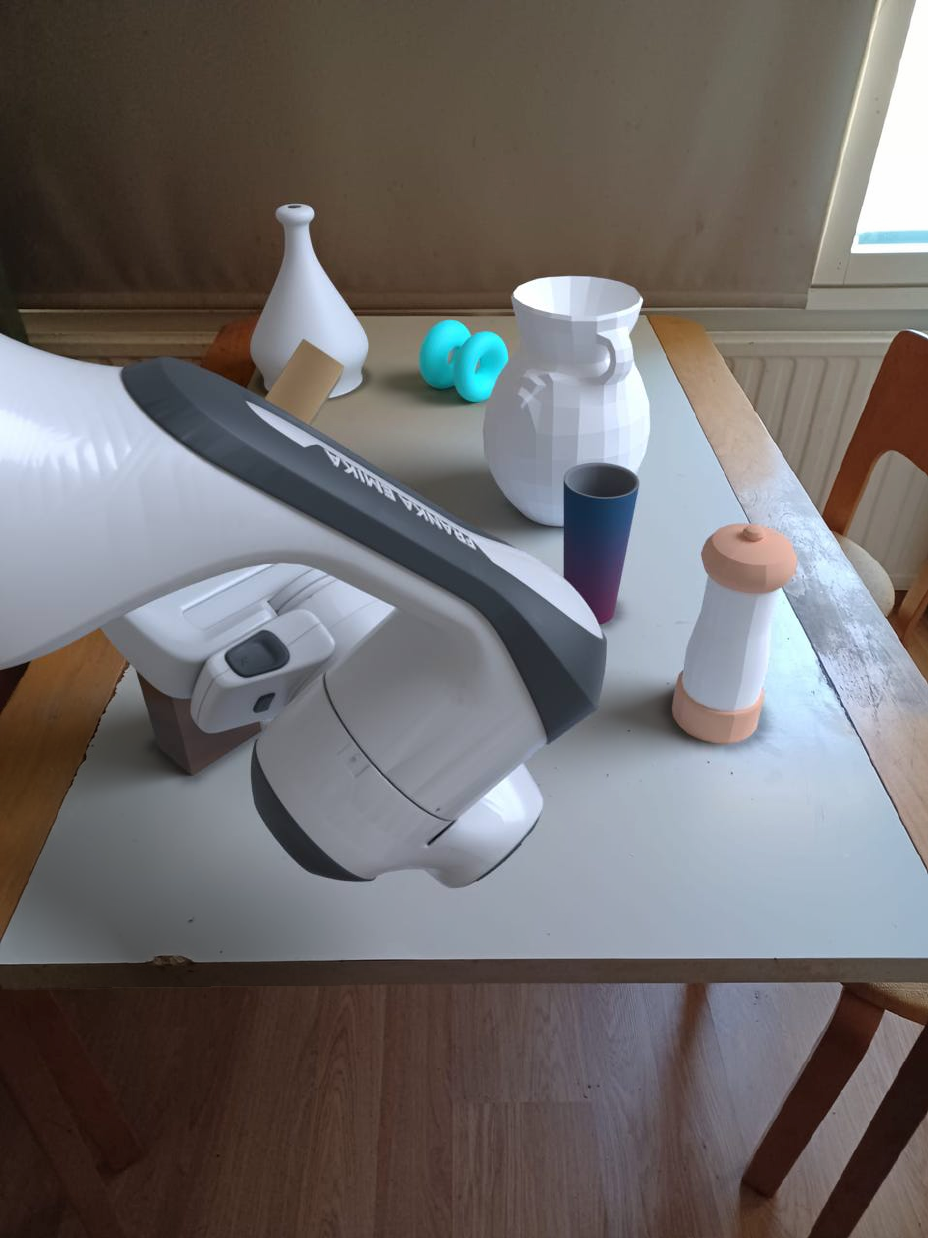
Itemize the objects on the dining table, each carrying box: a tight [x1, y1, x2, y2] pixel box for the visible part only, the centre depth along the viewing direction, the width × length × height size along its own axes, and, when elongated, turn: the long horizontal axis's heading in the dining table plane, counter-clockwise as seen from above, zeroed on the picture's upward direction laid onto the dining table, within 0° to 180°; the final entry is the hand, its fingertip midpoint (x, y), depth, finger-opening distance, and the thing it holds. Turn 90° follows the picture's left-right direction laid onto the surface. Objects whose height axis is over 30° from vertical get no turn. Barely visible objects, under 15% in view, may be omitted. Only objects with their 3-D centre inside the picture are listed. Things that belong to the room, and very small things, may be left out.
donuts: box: [418, 319, 509, 403], centre depth 131 cm, size 10×10×10 cm
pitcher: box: [482, 275, 651, 528], centre depth 100 cm, size 19×18×25 cm
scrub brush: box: [263, 339, 345, 427], centre depth 55 cm, size 5×15×5 cm
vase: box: [249, 203, 369, 399], centre depth 131 cm, size 17×17×25 cm
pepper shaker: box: [671, 522, 798, 745], centre depth 73 cm, size 7×7×19 cm
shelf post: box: [134, 668, 263, 777], centre depth 69 cm, size 7×5×26 cm
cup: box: [562, 462, 640, 626], centre depth 86 cm, size 7×7×15 cm
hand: (193, 472), depth 56 cm, fingers closed on scrub brush, 8 cm apart
